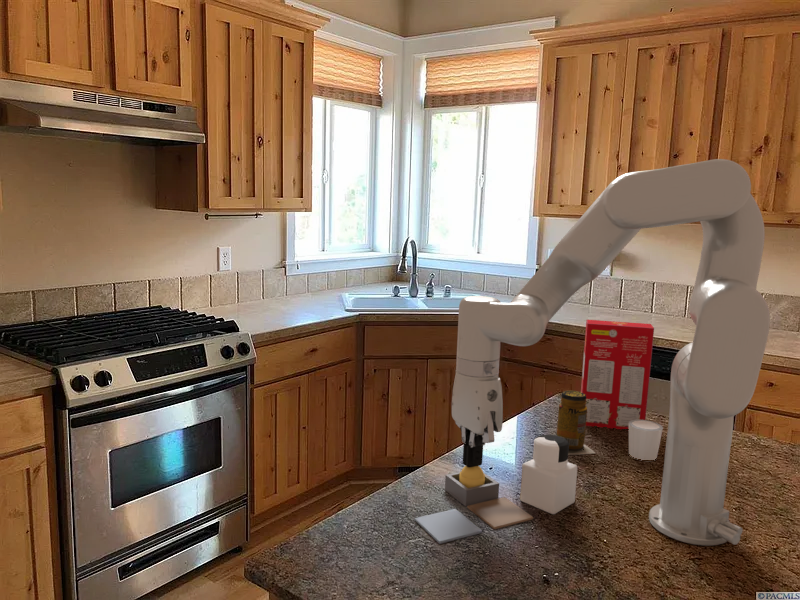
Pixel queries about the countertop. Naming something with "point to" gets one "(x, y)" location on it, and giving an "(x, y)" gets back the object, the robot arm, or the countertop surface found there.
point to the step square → (499, 512)
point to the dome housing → (471, 490)
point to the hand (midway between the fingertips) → (472, 464)
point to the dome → (472, 476)
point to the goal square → (447, 525)
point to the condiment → (573, 421)
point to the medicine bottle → (549, 475)
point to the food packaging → (616, 372)
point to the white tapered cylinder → (644, 439)
